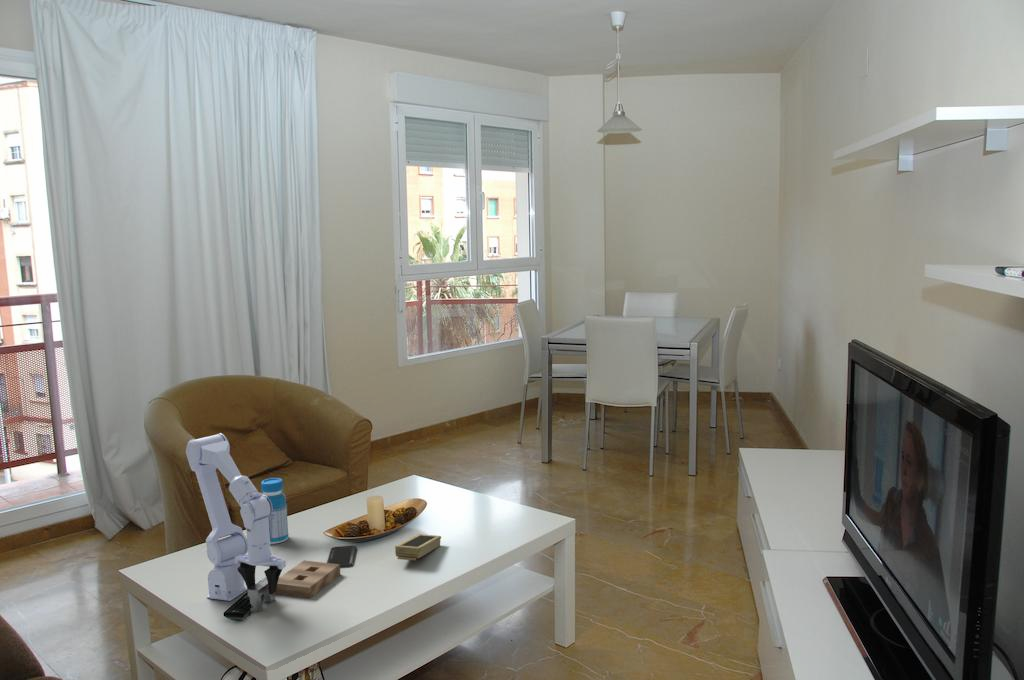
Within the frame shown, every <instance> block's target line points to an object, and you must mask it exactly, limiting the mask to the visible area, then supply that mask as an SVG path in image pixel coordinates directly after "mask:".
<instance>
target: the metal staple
mask: <svg viewBox="0 0 1024 680" xmlns="http://www.w3.org/2000/svg"><path fill="white" fill-rule="evenodd" d="M262 596H263V599H264V601H263V602H266V603H272V602H273V601H275V600H276V594H275V593H273V594H269V589H268V581H267V577H264V578H263V579H261V580H259V581H258V582H256V583H255V585H254V586H252V587H251V588H249V589H248V590H247V597H248V598H249V605H250V604H251V605H252V606H253V608H250V612H251V613H259V612H260V611H261V610H262V609H263V607H262V604H263V603H262ZM264 597H265V598H264Z"/></svg>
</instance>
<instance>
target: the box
mask: <svg viewBox="0 0 1024 680" xmlns="http://www.w3.org/2000/svg"><path fill="white" fill-rule="evenodd" d="M441 539H442V536H441V535H437V534H436V535H435V534H434V535H433V534H423V533H420V534H419V533H418V534H416V535H414V536H412V537H410V538H408V539H407V540H404V541H402V542H400V543H398V544H396V545H395V546H394V547H395V548H394V549H395V557H397V559H398V560H404V561H405V560H406V561H407V560H408V561H417V560H418V559H420V558H422V557H424V556H425V555H427V554H429V553H430V552H432V551H433V550H435V549H436V548H439V547H440V546H441Z"/></svg>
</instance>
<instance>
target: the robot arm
mask: <svg viewBox="0 0 1024 680" xmlns="http://www.w3.org/2000/svg"><path fill="white" fill-rule="evenodd" d="M186 444H187V445H186V448H185V455H186V459H187V461H188V463H189V464H188V465H189V467H190V470H191V472H195V476H196V479H197V483H198V485H199V489H200V493H201V495H202V498H203V502H204V505H205V508H206V511H207V515H208V519H209V523H210V525H211V528H212V529H211V530H212V531H210V533H209V535H208V536H207V537H206V539H205V544H206V545H205V546H206V554H207V558H208V560H209V562H211V564H213V565H214V566H213V567H212V569H211V570H210V571H209V572H208V575H207V585H208V595H206V598H207V599H213V600H220V601H221V600H222V601H226V602H227V601H228V602H231V601H233V600H234V599H236V598H237V597H238V596H240V595H242V594H243V593H245V592H246V591H248V589H249V588H251V587H252V586H254V585H255V584H256V570H257V569H256V568H257V566H260V567H267V569H266V570H264V572H263V573H264V575H265V576H266V577H267V581H268V589H269V594H273V593H275V592H276V588H277V583H278V579H279V577H281V573H282V571H283V569H285V568H286V566H287V563H286V561H287V560H286V559H284V558H280V557H276V556H274V555H272V549H271V548H272V547H271V544H270V534H269V519H268V516H270V515H271V514H272V510H273V508H272V503H271V501H270V499H269V497H268V496H266V495H263V492H259V490H258V489H257V488H256V486H255V485H254V483H253V482H252V480H251V479H250V478H249V477H248V476H246V475H242V474H241V471H240V470H239V468H238V467H237V465H236V463H235V460H233V457H232V456H231V454H230V451H231V446H230V442H229V440H228V438H227V437H226V436H225V435H224V434H223V433H221V432H220V433H216V434H214V435H213V434H212V435H210V436H209V435H208V436H205V437H200V438H196V439H190V440H189V441H188V442H187V443H186ZM217 470H219V472H220V473H221V474H222V476H223V477H224V478H225V479H226V481H228V483H229V485H228V490H229V492H230V494H231V495H232V497H234V499H235V501H236V502H237V504H238V505H239V506H240V510H239V512H240V516H241V519H242V521H243V526H244V528H245V529H246V535H245V533H244V531H243V529H242V527H241V526H238V525H236V524H234V523H232V520H231V517H230V513H229V510H228V507H227V504H226V501H225V498H224V497H225V496H224V493H223V490H222V488H221V483H220V481H219V478H218V475H217V474H218V473H217ZM223 537H225V538H223ZM221 538H222V539H221ZM268 567H269V568H268Z"/></svg>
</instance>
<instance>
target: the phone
mask: <svg viewBox="0 0 1024 680" xmlns="http://www.w3.org/2000/svg"><path fill="white" fill-rule="evenodd" d="M356 552H357V546H356V545H345V546H334V547H333V546H332V547H331V548H330V551H329V554H328V558H327V561H326V563H332V564H340V569H342V568H350V567H351V568H352V567H353V565H354V561H355V556H356Z"/></svg>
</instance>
